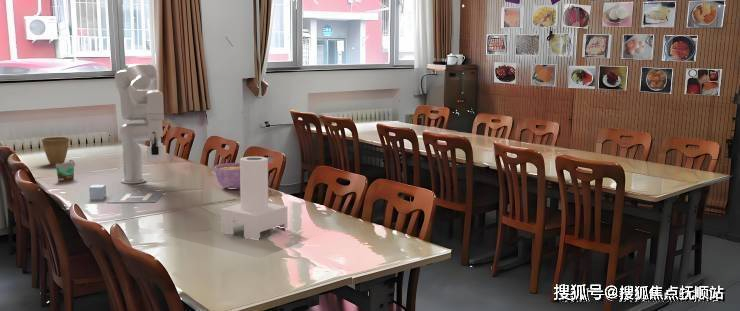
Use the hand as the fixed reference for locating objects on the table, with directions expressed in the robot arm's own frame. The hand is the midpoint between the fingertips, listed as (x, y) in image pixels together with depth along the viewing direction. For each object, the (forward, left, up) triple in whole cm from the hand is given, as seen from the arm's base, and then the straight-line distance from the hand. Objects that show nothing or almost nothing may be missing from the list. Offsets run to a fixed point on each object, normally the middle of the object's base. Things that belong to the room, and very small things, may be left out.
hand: (156, 153), depth 318 cm
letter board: (0, -10, -22) cm, 24 cm away
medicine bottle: (0, 0, -4) cm, 4 cm away
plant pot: (-91, -77, -22) cm, 122 cm away
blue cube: (0, -28, -22) cm, 36 cm away
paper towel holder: (+62, +50, -22) cm, 83 cm away
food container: (-43, -55, -22) cm, 74 cm away
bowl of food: (-20, +35, -22) cm, 46 cm away
